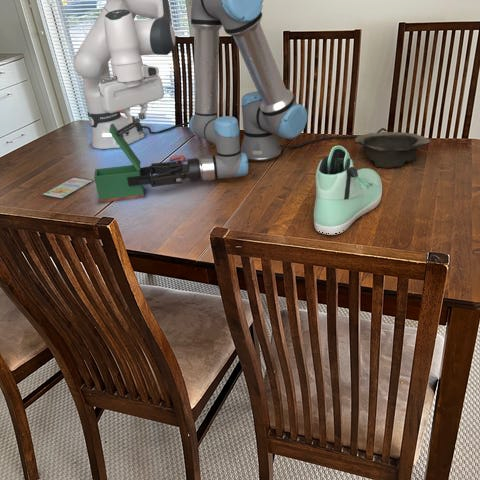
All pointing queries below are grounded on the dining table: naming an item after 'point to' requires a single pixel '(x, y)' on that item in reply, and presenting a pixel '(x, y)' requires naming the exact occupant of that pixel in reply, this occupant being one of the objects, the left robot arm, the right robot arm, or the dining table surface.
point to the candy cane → (178, 158)
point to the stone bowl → (391, 147)
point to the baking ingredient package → (67, 187)
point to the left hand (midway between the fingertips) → (137, 120)
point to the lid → (122, 143)
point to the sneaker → (343, 192)
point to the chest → (117, 183)
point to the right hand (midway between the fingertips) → (128, 177)
